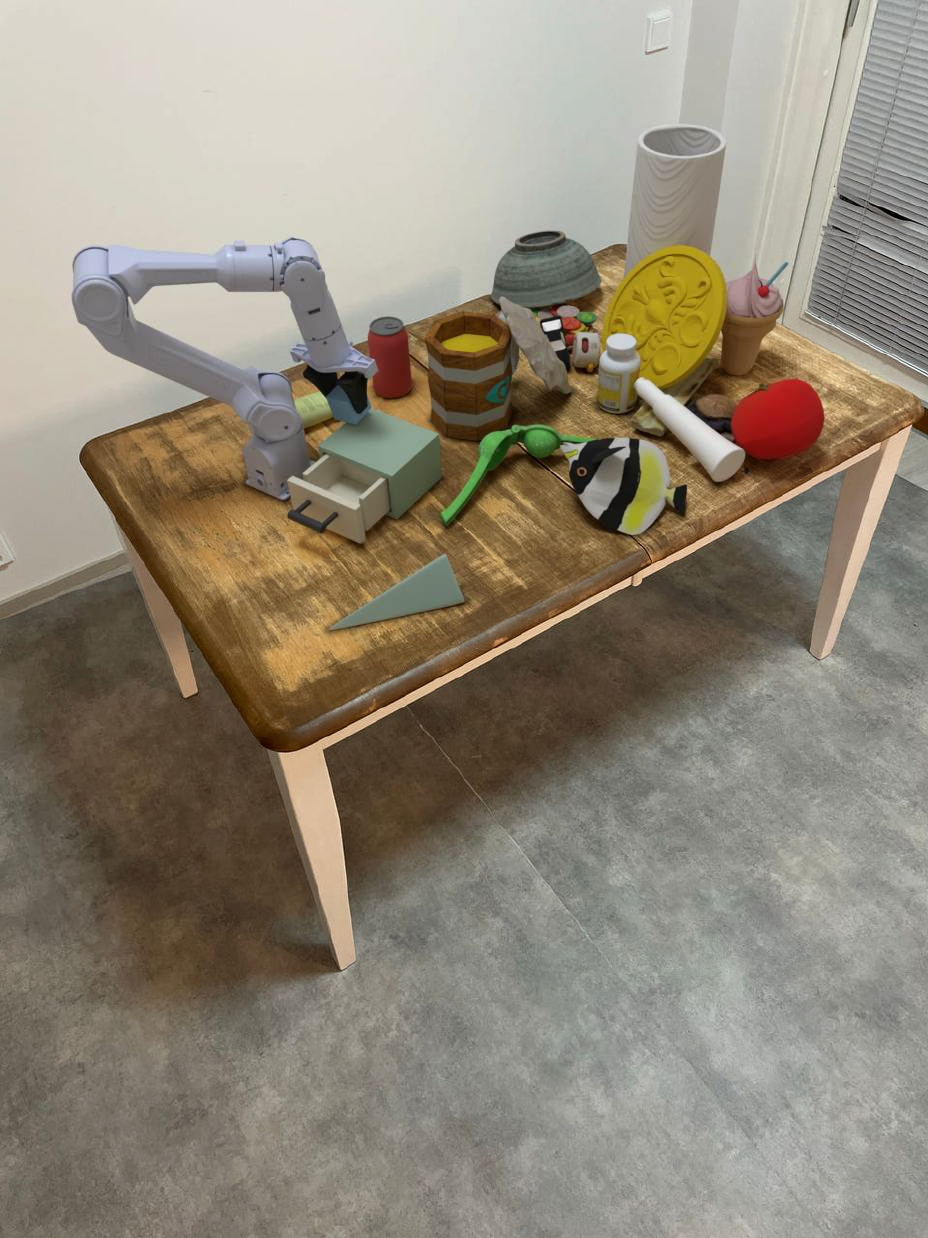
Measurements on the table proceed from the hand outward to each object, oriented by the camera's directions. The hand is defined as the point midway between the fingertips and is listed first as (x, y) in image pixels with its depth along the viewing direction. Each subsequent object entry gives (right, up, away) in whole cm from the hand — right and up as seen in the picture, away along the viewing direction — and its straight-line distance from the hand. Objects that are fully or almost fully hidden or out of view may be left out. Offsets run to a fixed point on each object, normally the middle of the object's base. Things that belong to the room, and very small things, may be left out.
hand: (350, 406), depth 144 cm
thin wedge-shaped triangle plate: (+9, -31, -15) cm, 36 cm away
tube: (-16, -2, +9) cm, 19 cm away
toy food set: (+34, +20, +30) cm, 49 cm away
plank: (+50, +5, +16) cm, 53 cm away
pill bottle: (+42, +4, +15) cm, 45 cm away
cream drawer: (-1, -17, -3) cm, 17 cm away
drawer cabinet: (+5, -11, +3) cm, 12 cm away
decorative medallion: (+50, +17, +14) cm, 54 cm away
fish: (+41, -5, -3) cm, 41 cm away
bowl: (+31, +39, +33) cm, 59 cm away
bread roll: (+57, 0, +11) cm, 58 cm away
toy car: (+33, +15, +24) cm, 43 cm away
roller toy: (+38, +12, +24) cm, 46 cm away
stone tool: (+35, +6, +18) cm, 40 cm away
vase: (+53, +23, +32) cm, 66 cm away
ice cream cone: (+63, +11, +21) cm, 68 cm away
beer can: (+5, +7, +21) cm, 23 cm away
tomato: (+66, -7, +2) cm, 66 cm away
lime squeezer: (+27, -9, +4) cm, 29 cm away
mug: (+20, +3, +16) cm, 26 cm away
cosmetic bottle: (+56, -9, -2) cm, 57 cm away
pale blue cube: (0, -1, +1) cm, 1 cm away
